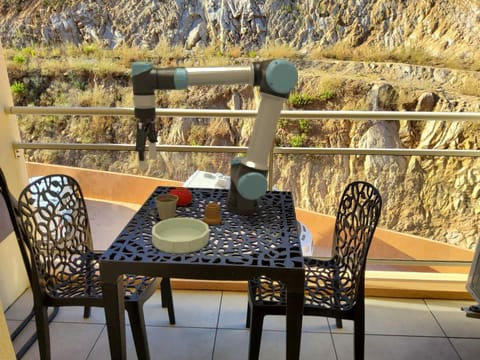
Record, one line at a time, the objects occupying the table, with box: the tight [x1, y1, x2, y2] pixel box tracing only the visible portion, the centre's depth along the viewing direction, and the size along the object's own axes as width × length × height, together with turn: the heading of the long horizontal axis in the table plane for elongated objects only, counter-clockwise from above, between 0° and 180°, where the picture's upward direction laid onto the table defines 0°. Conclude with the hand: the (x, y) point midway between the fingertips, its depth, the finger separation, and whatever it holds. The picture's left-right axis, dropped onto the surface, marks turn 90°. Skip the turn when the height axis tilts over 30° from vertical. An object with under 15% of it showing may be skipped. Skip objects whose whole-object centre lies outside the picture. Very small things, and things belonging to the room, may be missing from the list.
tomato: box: [168, 186, 193, 207], centre depth 174 cm, size 10×11×6 cm
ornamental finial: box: [202, 202, 222, 226], centre depth 155 cm, size 8×8×8 cm
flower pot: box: [154, 193, 178, 221], centre depth 157 cm, size 9×9×9 cm
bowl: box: [151, 217, 210, 255], centre depth 139 cm, size 20×20×4 cm
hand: (148, 164), depth 145 cm, fingers open, 13 cm apart
